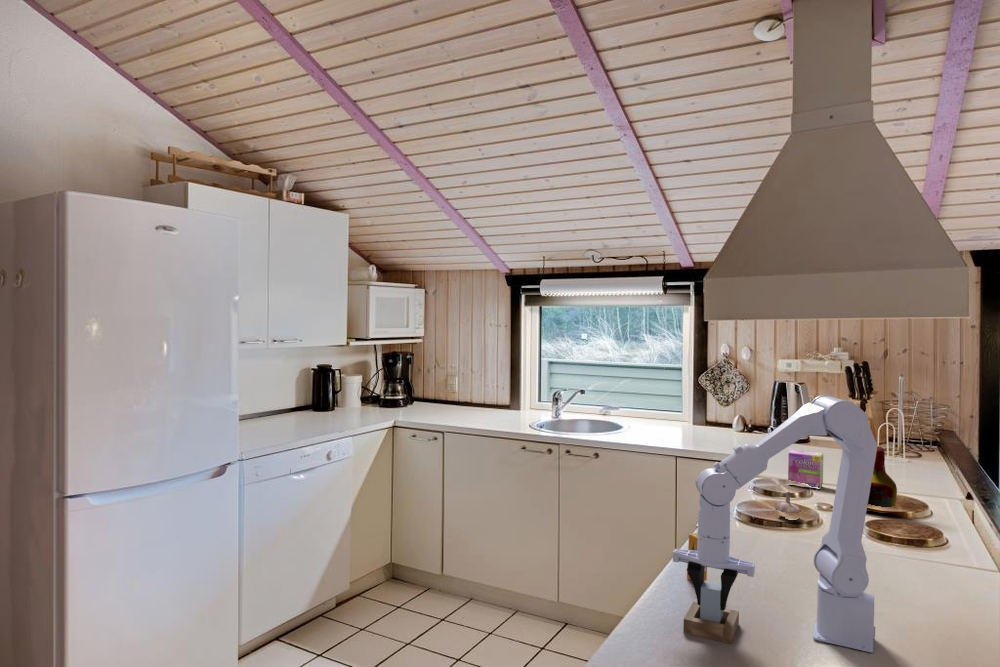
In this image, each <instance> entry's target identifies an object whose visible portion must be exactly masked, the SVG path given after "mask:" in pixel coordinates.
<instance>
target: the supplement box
mask: <svg viewBox="0 0 1000 667" xmlns="http://www.w3.org/2000/svg"><path fill="white" fill-rule="evenodd" d="M697 545H698V532H697V533H689V534H688V549H687V550H693V551H697ZM686 566H687V568H688V564H687V565H686ZM687 568H686V569H687ZM707 577H708V567H705V569H704V581H708V580H707V579H708V578H707ZM686 578H687V579H688V580H690V581H691V579H690V577H689V575H688V573H687V572H686Z"/></svg>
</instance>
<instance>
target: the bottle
mask: <svg viewBox="0 0 1000 667" xmlns="http://www.w3.org/2000/svg"><path fill="white" fill-rule="evenodd" d="M885 457H886V455H885V449H884V448H883V447H882V446H880V445H879V446H878V445H877V452H876V457H875V463H874V469H873V475H872V481H871V487H870V493H869V499H868V504H871V505H875V506H881V507H892V506H895V507H896V503H897V497H898V488H897V484H896V482H895V481H894V479H892V477H891V476H890V475H888V473H887V471H886V465H885V461H886V458H885Z"/></svg>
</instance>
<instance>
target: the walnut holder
mask: <svg viewBox="0 0 1000 667" xmlns="http://www.w3.org/2000/svg"><path fill="white" fill-rule="evenodd" d="M739 623H740V611H739V610H734V609H730V608H727V607H726V608H725V610H724V611H723V616H722V619H721V621H720V623H716V622H712V621H708V620H704V619H700V605H698V603H697V601H692V603H691V605H690V607H689V608H688V611H687V612H686V614H685V616H684V618H683V629H682V631H683V633H685V634H689V635H693V636H698V637H701V638H706V639H710V640H714V641H718V642H722V643H726V644H732V643H733V640H734V638H735V636H736V632H737V630H738V627H739Z"/></svg>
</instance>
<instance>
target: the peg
mask: <svg viewBox="0 0 1000 667" xmlns="http://www.w3.org/2000/svg"><path fill="white" fill-rule="evenodd" d="M720 603H721V582H720V583H719V582H714V581H710V580H707V581H704V582H703V584H702V586H701V603H700V619H704V620H706V621H707V620H708V621H712V622H716V623H719V624H720V621H721V619H722V616H723V610H721V608H720Z"/></svg>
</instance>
